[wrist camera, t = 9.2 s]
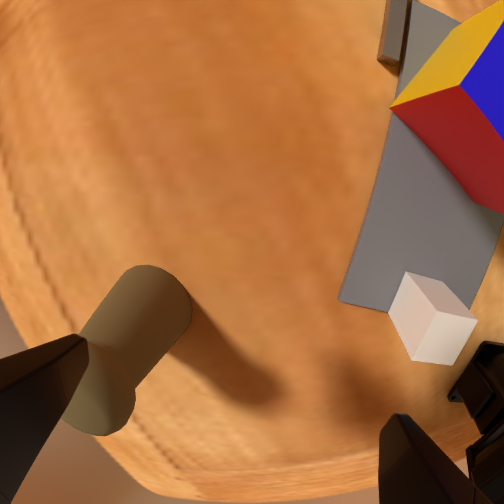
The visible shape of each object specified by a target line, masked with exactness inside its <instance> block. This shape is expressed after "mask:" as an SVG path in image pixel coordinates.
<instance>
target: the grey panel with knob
mask: <svg viewBox="0 0 504 504" xmlns="http://www.w3.org/2000/svg"><path fill="white" fill-rule="evenodd" d="M460 24H462V23H460V22H458V21H456V20H454V19H453V18H451V17H449V16H447V15H445V14H443V13H441V12H439V11H437V10H435V9H433V8H431V7H428V6H426V5H424V4H422V3H420V2H417V1H415V0H412V1H411V2H410V4H409V13H408V22H407V30H406V37H405V44H404V51H403V57H402V63H401V69H400V75H399V80H398V86H397V91H396V96H395V100H396V99H397V97H398V96H399V95H400V94H401V92H402V91H403V90H404V89H405V88H406V86H407V85H408V84H409V83H410V81H411V80H412V79H413V78H414V77H415V75H416V74H417V73H418V72H419V70H420V69H421V68H422V67H423V66H424V64H425V63H426V62H427V61H428V59H429V58H430V57H431V56H432V54H433V53H434V52H435V51H436V49H437V48H438V47H439V46H440V45H441V43H442V42H443V41H444V40H445V38H446V37H447V36H448V35H449V33H450V32H451V31H452V30H453V29H454V28H455V27H457V26H458V25H460ZM503 223H504V215H503V214H501V213H498V212H496V211H494V210H491V209H489V208H487V207H484V206H482V205H479V204H477V203H474V202H473V200H472V199H471V198H470V196H469V195H468V194H467V192H466V191H465V190H464V189H463V187H462V186H461V185H460V184H459V182H458V181H457V180H456V179H455V177H454V176H453V175H452V174H451V173H450V171H449V170H448V169H447V168H446V167H445V166H444V164H443V163H442V162H441V161H440V160H439V159H438V158H437V156H436V155H435V154H434V153H433V152H432V151H431V150H430V149H429V148H428V146H427V145H426V144H425V143H424V142H423V141H422V140H421V139H420V138H419V137H418V136H417V135H416V134H415V133H414V132H413V131H412V130H411V129H410V128H409V127H408V126H407V125H406V124H405V123H404V122H403V121H402V120H401V119H400V118H399V117H398V116H397V115H396V114H395V113H394V112H393V111H392V115H391V120H390V124H389V128H388V133H387V137H386V141H385V145H384V149H383V153H382V157H381V161H380V165H379V169H378V173H377V176H376V180H375V184H374V187H373V191H372V194H371V198H370V201H369V204H368V208H367V211H366V214H365V218H364V221H363V224H362V227H361V231H360V234H359V237H358V240H357V243H356V246H355V249H354V252H353V255H352V258H351V261H350V264H349V267H348V270H347V272H346V275H345V278H344V281H343V284H342V286H341V289H340V292H339V294H338V300H339V301H340V302H345V303H349V304H353V305H358V306H362V307H367V308H371V309H376V310H380V311H385V312H388V314H389V316H390V318H391V320H392V322H393V324H394V326H395V328H396V330H397V332H398V334H399V336H400V338H401V340H402V342H403V344H404V346H405V348H406V350H407V352H408V355H409V357H410V359H411V360H414V361H421V362H428V363H435V364H443V365H453V364H454V362H455V360H456V359H457V357H458V355H459V354H460V352H461V350H462V349H463V347H464V345H465V343H466V342H467V340H468V338H469V336H470V334H471V333H472V331H473V329H474V327H475V325H476V323H477V321H478V320H477V319H476V317H475V316H474V315H473V314H472V313H471V312H470V311H469V308H470V306H471V304H472V302H473V300H474V298H475V295H476V293H477V291H478V289H479V287H480V284H481V282H482V280H483V277H484V275H485V272H486V270H487V267H488V265H489V262H490V260H491V257H492V255H493V252H494V249H495V246H496V244H497V241H498V238H499V235H500V232H501V229H502V226H503Z"/></svg>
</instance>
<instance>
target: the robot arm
mask: <svg viewBox="0 0 504 504" xmlns="http://www.w3.org/2000/svg"><path fill="white" fill-rule="evenodd" d="M88 365H89V350H88V342H87V339H86V338H85V337H82V336H80V335H78V334H71V335H68V336H65V337H62V338H59V339H57V340H54V341H51V342H48V343H45V344H42V345H39V346H37V347H34V348H31V349H28V350H25V351H22V352H19V353H17V354H14V355H11V356H8V357H5V358H2V359H0V504H11V502H12V500H13V498H14V496H15V494H16V493H17V491H18V489H19V487H20V485H21V483H22V482H23V480H24V478H25V476H26V474H27V472H28V471H29V469H30V467H31V466H32V464H33V462H34V461H35V459H36V457H37V455H38V454H39V452H40V450H41V448H42V447H43V445H44V444H45V442H46V440H47V439H48V437H49V436H50V434H51V432H52V431H53V429H54V427H55V426H56V424H57V422H58V421H59V419H60V418H61V416H62V415H63V413H64V412H65V410H66V408H67V407H68V405H69V403H70V401H71V399H72V397H73V395H74V393H75V391H76V389H77V387H78V385H79V383H80V381H81V379H82V377H83V375H84V373H85V371H86V369H87V367H88ZM447 398H448V400H449V402H464V404H465V406H466V408H467V410H468V412H469V414H470V416H471V418H473V419H474V421H475V423H476V425H477V427H478V430H479V432H480V434H481V435H483V434H484V435H483V436H482V437H481V438H480V439H478V440H477V441H476V442H475V443H474V444H473V445H470V446H469V447H468V448H467V449H466V456H467V465H468V472H469V478H468V477H467V476H466V475H465V474H464V473H463V472H462V471H461V470H460V469H459V468H458V467H457V466H456V465H455V464H454V463H453V462H452V461H451V459H450V458H449V457H448V456H447V455H446V454H445V453H444V452H443V451H442V450H441V449H440V448H439V447H438V446H437V445H436V444H435V443H434V442H433V440H432V439H431V438H430V437H429V436H428V435H427V434H426V433H425V432H424V431H423V430H422V429H421V428H420V427H419V426H418V425H417V424H416V423H415V421H414V420H413V419H412V418H411V417H410V416H409V415H408V414H404V413H395V414H393V415H392V416H391V418H390V419H389V421H388V422H387V423H386V424H385V426H384V427H383V428H382V430H381V432H380V436H379V469H378V485H379V504H504V344H503V343H497V342H491V341H484V342H482V343H481V345H480V346H479V348H478V350H477V351H476V353H475V355H474V356H473V358H472V360H471V361H470V363H469V364H468V366H467V368H466V369H465V371H464V372H463V374H462V375H461V377H460V378H459V380H458V381H457V383H456V384H455V386H454V387H453V389H452V390H451V391H450V393H449V394H448V396H447Z"/></svg>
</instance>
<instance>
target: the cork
mask: <svg viewBox="0 0 504 504" xmlns="http://www.w3.org/2000/svg"><path fill="white" fill-rule="evenodd" d="M191 316H192V306H191V302H190V297H189V296H188V294H187V292H186V290H185V288H184V287H183V285H182V284H181V283H180V282H179V281H178V280H177V279H176V278H175V277H174V276H173V275H171V274H170V273H168V272H166V271H165V270H163V269H161V268H158V267H154V266H150V265H140V266H135V267H133V268H131V269H128V270H127V271H126V272H125V273H124V274H123V275H122V276H121V277H120V279H119V280H118V281H117V282H116V284H115V285H114V286H113V288H112V289H111V290H110V292H109V293H108V294H107V296H106V297H105V298H104V300H103V301H102V302H101V304H100V305H99V307H98V308H97V309H96V311H95V312H94V313H93V315H92V316H91V318H90V319H89V320H88V322H87V323H86V325H85V326H84V327H83V329H82V330H81V332H80V333H79V335H80V336H82V337H85V338H86V339H87V342H88V350H89V365H88V367H87V369H86V371H85V373H84V375H83V377H82V379H81V381H80V383H79V385H78V387H77V389H76V391H75V393H74V395H73V397H72V399H71V401H70V403H69V405H68V407H67V408H66V410H65V412H64V413H63V415H62V416H61V418H62V419H63V420H64V421H65V422H67V423H68V424H70V425H71V426H73V427H74V428H76V429H78V430H80V431H82V432H84V433H88V434H91V435H95V436H107V435H109V434H112V433H114V432H116V431H119V430H120V429H121V428H122V427H123V426H124V425H126V423H127V421H128V419H129V418H130V416H131V414H132V412H133V410H134V406H135V401H136V395H135V388H136V387H137V386H138V385H139V384H140V382H141V381H142V380H143V379H144V378H145V377H146V376H147V374H148V373H149V372H150V371H151V370H152V369H153V367H154V366H155V365H156V364H157V363H158V362H159V360H160V359H161V358H162V357H163V356H164V355H165V354H166V352H167V351H168V350H169V349H170V348H171V347H172V345H173V344H174V343H175V342H176V341H177V340H178V339H179V337H180V336H181V335H182V334H183V333H184V332H185V330H186V329H187V327H188V325H189V324H190V322H191Z"/></svg>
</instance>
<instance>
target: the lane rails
mask: <svg viewBox="0 0 504 504" xmlns="http://www.w3.org/2000/svg"><path fill="white" fill-rule="evenodd" d="M406 6H407V0H386V7H385V14H384V21H383V27H382V33H381V39H380V45H379V51H378V56H377V60H378V61H381V62H384V63H387V64H389V65H392V66H393V65H394V64H395V63H397V62H398V61H399V57H400V51H401V44H402V38H403V31H404V23H405V15H406Z"/></svg>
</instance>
